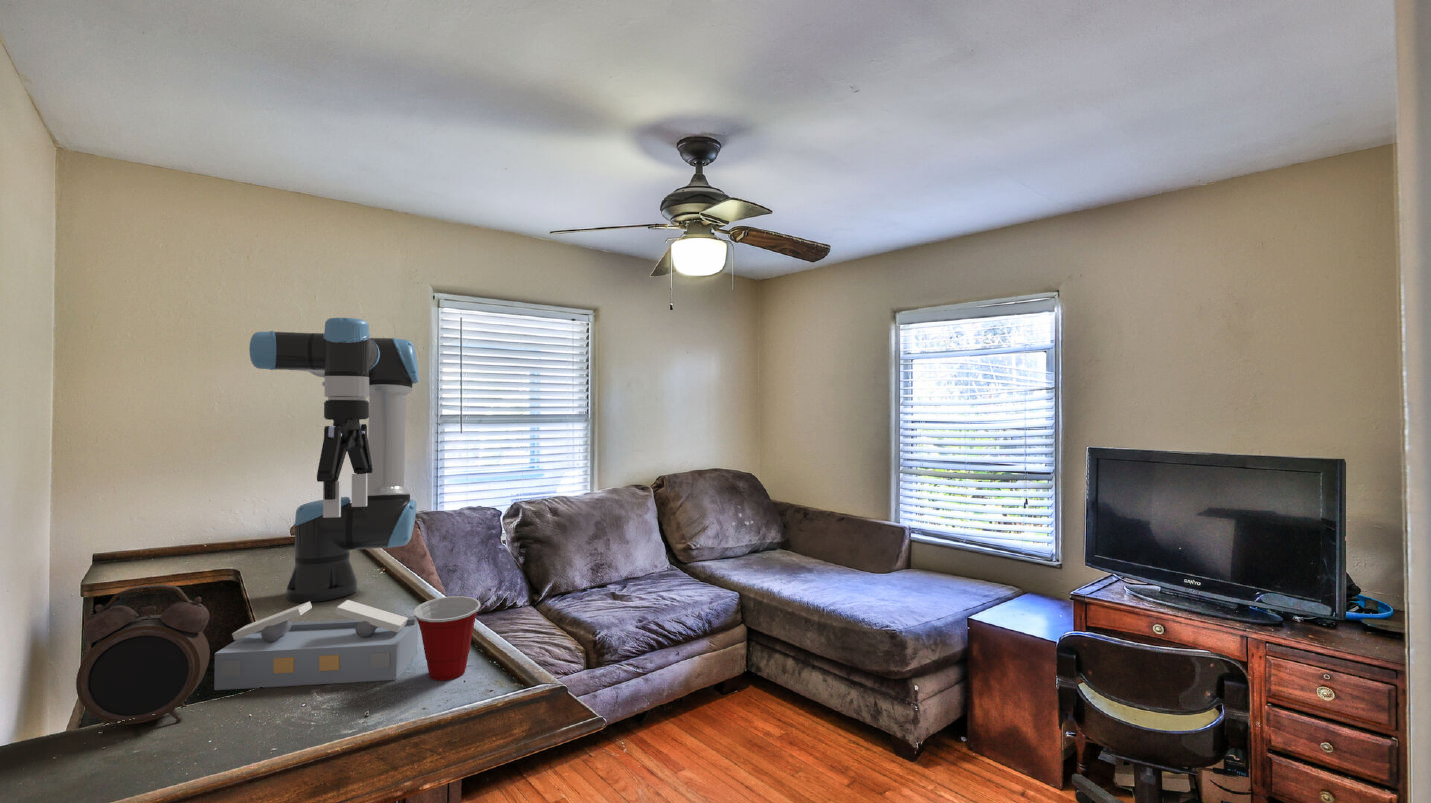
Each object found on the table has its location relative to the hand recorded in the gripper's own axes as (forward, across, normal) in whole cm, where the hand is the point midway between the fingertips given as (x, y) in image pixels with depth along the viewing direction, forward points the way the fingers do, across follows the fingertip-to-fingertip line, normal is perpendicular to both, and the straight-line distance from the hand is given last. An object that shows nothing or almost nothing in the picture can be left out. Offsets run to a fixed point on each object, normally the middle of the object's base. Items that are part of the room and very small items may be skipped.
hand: (346, 511), depth 126 cm
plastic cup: (+26, +16, +22) cm, 38 cm away
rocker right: (+20, +11, +7) cm, 24 cm away
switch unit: (+26, +11, 0) cm, 28 cm away
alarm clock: (+26, +28, -16) cm, 42 cm away
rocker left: (+20, +11, -7) cm, 24 cm away
